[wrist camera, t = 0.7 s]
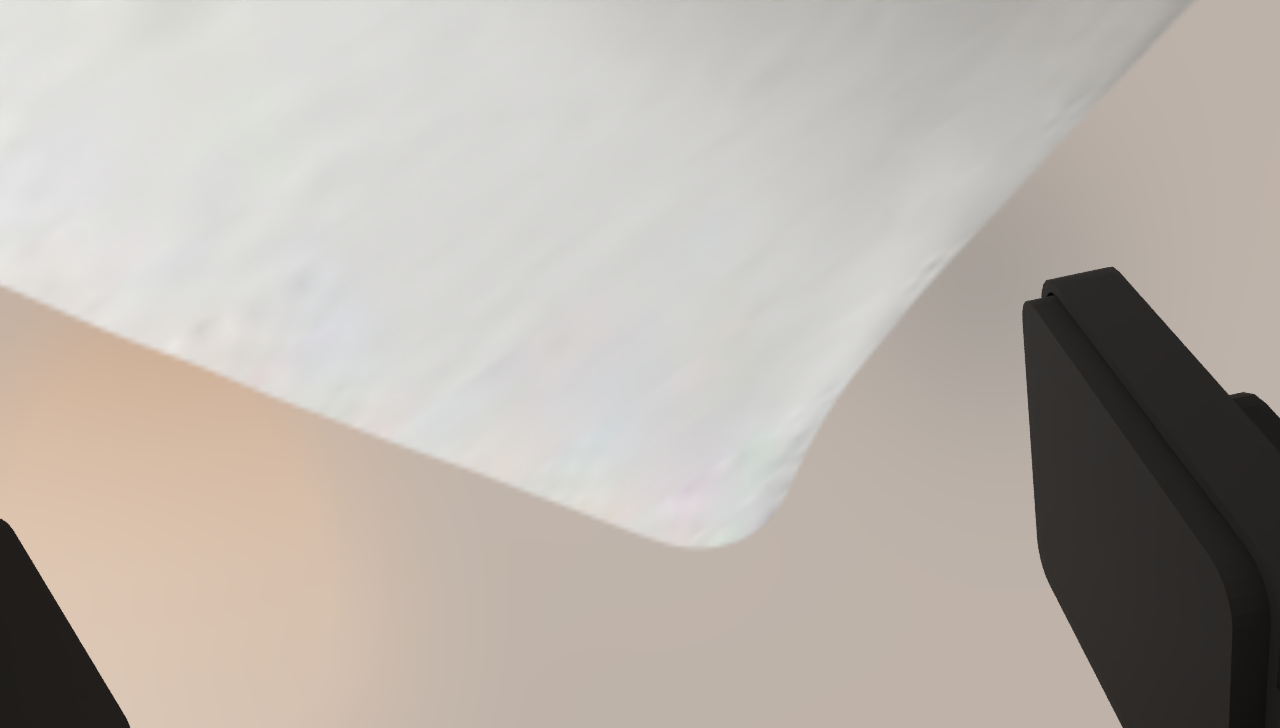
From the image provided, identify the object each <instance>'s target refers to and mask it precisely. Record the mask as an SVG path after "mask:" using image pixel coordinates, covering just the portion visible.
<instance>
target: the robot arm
mask: <svg viewBox="0 0 1280 728" xmlns="http://www.w3.org/2000/svg"><path fill="white" fill-rule="evenodd" d="M1022 312H1023V313H1022V315H1023V334H1024V347H1025V348H1024V349H1025V364H1026V379H1027V394H1028V409H1029V424H1030V438H1031V454H1032V469H1033V484H1034V499H1035V513H1036V527H1037V540H1038V549H1039V553H1040V559H1041V562H1042V566H1043V569H1044V572H1045V575H1046V578H1047V580H1048V582H1049V584H1050V586H1051V588H1052V590H1053V592H1054V594H1055V596H1056V598H1057V600H1058V602H1059V604H1060V606H1061V608H1062V610H1063V612H1064V614H1065V615H1066V618H1067V620H1068V622H1069V623H1070V625H1071V627H1072V629H1073V631H1074V633H1075V635H1076V637H1077V639H1078V641H1079V643H1080V645H1081V647H1082V649H1083V651H1084V653H1085V655H1086V657H1087V658H1088V661H1089V663H1090V665H1091V666H1092V668H1093V670H1094V672H1095V674H1096V676H1097V678H1098V680H1099V682H1100V684H1101V686H1102V688H1103V690H1104V692H1105V694H1106V696H1107V698H1108V700H1109V701H1110V704H1111V706H1112V707H1113V709H1114V711H1115V713H1116V715H1117V717H1118V719H1119V721H1120V723H1121V725H1122V727H1123V728H1280V418H1279V417H1278V416H1277V415H1276V414H1275V413H1274V412H1273V410H1272V409H1270V407H1269V406H1268V405H1267V404H1266V403H1265V402H1263V401H1262V400H1261V399H1259V398H1258V397H1257V396H1256V395H1255V394H1250V393H1245V392H1242V393H1237V394H1233V395H1228V394H1227V393H1226V391H1225V390H1224V389H1223V388H1222V387H1221V386H1220V385H1219V384H1218V382H1217V381H1216V380H1215V379H1214V378H1213V377H1212V376H1211V374H1210V373H1209V372H1208V371H1207V370H1206V369H1205V368H1204V367H1203V365H1202V364H1201V363H1200V362H1199V361H1198V360H1197V359H1196V358H1195V356H1194V355H1193V354H1192V353H1191V352H1190V351H1189V350H1188V349H1187V347H1186V346H1184V344H1183V343H1182V342H1181V341H1180V340H1179V338H1178V337H1177V336H1176V335H1175V334H1174V333H1173V332H1172V331H1171V330H1170V328H1169V327H1168V326H1167V325H1166V324H1165V323H1164V322H1163V320H1162V319H1161V318H1160V317H1159V316H1158V315H1157V314H1156V313H1155V312H1154V310H1153V309H1152V308H1151V307H1150V306H1149V305H1148V304H1147V302H1146V301H1145V300H1144V299H1143V298H1142V297H1141V296H1140V295H1139V293H1138V292H1137V291H1136V290H1135V289H1134V288H1133V287H1132V286H1131V284H1130V283H1129V282H1128V281H1127V280H1126V279H1125V278H1124V277H1123V275H1122V274H1121V273H1120V272H1119V271H1117V270H1116V269H1115V268H1114V267H1107V268H1102V269H1098V270H1093V271H1088V272H1083V273H1078V274H1074V275H1069V276H1064V277H1059V278H1055V279H1050V280H1046V281H1045V283H1044V284H1043V289H1042V298H1040V299H1035V300H1030V301H1026V302H1025V303H1024V305H1023V311H1022ZM0 728H130V726H129V723H128V721H127V719H126V717H125V715H124V714H123V712H122V710H121V709H120V707H119V705H118V704H117V702H116V700H115V699H114V697H113V695H112V694H111V692H110V690H109V689H108V687H107V685H106V684H105V682H104V680H103V679H102V677H101V676H100V674H99V672H98V671H97V669H96V667H95V665H94V664H93V662H92V660H91V659H90V657H89V655H88V654H87V652H86V650H85V649H84V647H83V645H82V644H81V642H80V640H79V639H78V637H77V635H76V634H75V632H74V630H73V629H72V627H71V625H70V624H69V622H68V620H67V619H66V617H65V615H64V614H63V612H62V610H61V609H60V607H59V605H58V604H57V602H56V600H55V599H54V597H53V595H52V594H51V592H50V590H49V589H48V587H47V585H46V584H45V582H44V581H43V579H42V577H41V576H40V574H39V572H38V571H37V569H36V567H35V565H34V564H33V562H32V560H31V559H30V557H29V555H28V554H27V552H26V550H25V549H24V547H23V545H22V544H21V542H20V540H19V539H18V537H17V536H16V534H15V532H14V531H13V529H12V528H11V527H10V525H9V524H8V523H7V522H5V521H3V520H2V519H0Z"/></svg>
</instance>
